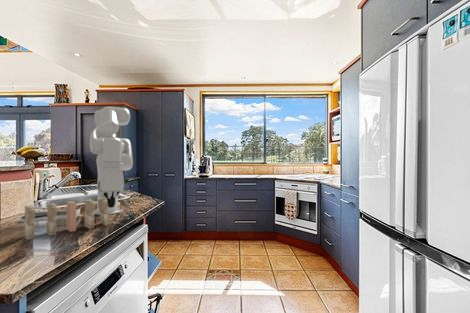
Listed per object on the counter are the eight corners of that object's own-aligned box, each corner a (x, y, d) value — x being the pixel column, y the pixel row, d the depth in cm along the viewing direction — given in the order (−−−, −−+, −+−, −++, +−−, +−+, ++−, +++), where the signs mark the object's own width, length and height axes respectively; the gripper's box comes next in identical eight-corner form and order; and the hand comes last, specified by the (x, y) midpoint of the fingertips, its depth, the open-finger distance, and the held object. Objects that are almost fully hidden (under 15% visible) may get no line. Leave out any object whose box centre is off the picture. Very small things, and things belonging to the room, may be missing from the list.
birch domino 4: (105, 221, 111) (102, 197, 109) (110, 223, 107) (106, 199, 106) (101, 223, 109) (97, 199, 108) (105, 225, 106) (102, 200, 105)
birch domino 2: (52, 231, 96) (53, 203, 96) (56, 234, 93) (57, 204, 93) (46, 232, 94) (47, 203, 95) (49, 235, 91) (50, 205, 91)
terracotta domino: (72, 228, 101) (72, 201, 101) (76, 230, 98) (76, 202, 98) (66, 229, 99) (66, 201, 99) (70, 231, 96) (70, 203, 96)
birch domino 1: (31, 235, 91) (32, 205, 91) (34, 238, 88) (35, 207, 88) (24, 236, 90) (25, 206, 90) (26, 239, 86) (27, 208, 86)
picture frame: (20, 224, 109) (76, 219, 118) (20, 217, 109) (76, 213, 118) (31, 216, 123) (80, 213, 132) (31, 210, 123) (80, 207, 132)
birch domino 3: (89, 225, 106) (90, 199, 106) (94, 227, 102) (94, 200, 103) (84, 226, 104) (85, 200, 104) (88, 228, 101) (89, 201, 101)
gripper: (124, 165, 118) (123, 203, 118) (90, 165, 107) (89, 208, 106) (131, 165, 113) (131, 205, 113) (96, 165, 102) (95, 210, 101)
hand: (110, 206), depth 110 cm, fingers closed
